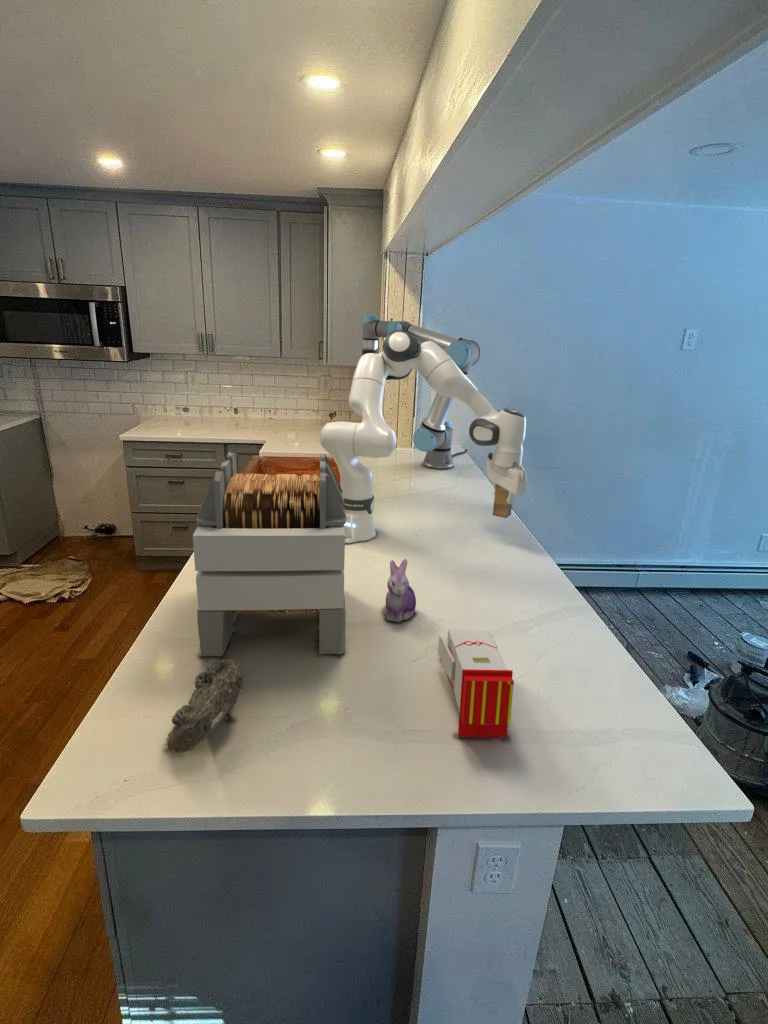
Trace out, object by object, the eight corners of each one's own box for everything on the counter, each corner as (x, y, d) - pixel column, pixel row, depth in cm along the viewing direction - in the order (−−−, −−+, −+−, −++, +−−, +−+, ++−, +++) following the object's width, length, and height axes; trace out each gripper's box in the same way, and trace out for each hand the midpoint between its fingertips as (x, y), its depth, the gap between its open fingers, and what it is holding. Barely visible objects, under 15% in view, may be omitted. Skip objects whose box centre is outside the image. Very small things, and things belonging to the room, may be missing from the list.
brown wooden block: (506, 518, 189) (509, 491, 186) (492, 515, 192) (495, 488, 188) (511, 514, 193) (514, 487, 190) (497, 511, 195) (500, 485, 192)
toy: (488, 613, 130) (523, 677, 101) (484, 667, 133) (517, 744, 104) (435, 612, 130) (455, 676, 101) (432, 666, 133) (451, 743, 103)
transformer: (222, 587, 157) (213, 443, 143) (340, 586, 160) (343, 445, 147) (197, 659, 125) (183, 482, 111) (345, 655, 129) (349, 484, 115)
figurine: (392, 627, 141) (395, 572, 136) (374, 608, 149) (376, 556, 144) (425, 619, 145) (429, 566, 140) (405, 601, 154) (408, 550, 149)
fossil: (192, 660, 117) (244, 628, 112) (224, 691, 120) (276, 661, 115) (142, 746, 98) (202, 712, 93) (182, 779, 101) (242, 748, 96)
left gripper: (533, 467, 177) (528, 508, 182) (501, 451, 196) (496, 489, 200) (516, 468, 175) (510, 510, 180) (484, 452, 194) (480, 490, 198)
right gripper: (385, 351, 267) (383, 396, 274) (370, 347, 289) (368, 389, 296) (369, 351, 264) (368, 397, 271) (355, 347, 286) (354, 389, 294)
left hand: (503, 499), depth 190 cm, fingers closed on brown wooden block, 7 cm apart
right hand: (368, 393), depth 284 cm, fingers open, 13 cm apart
